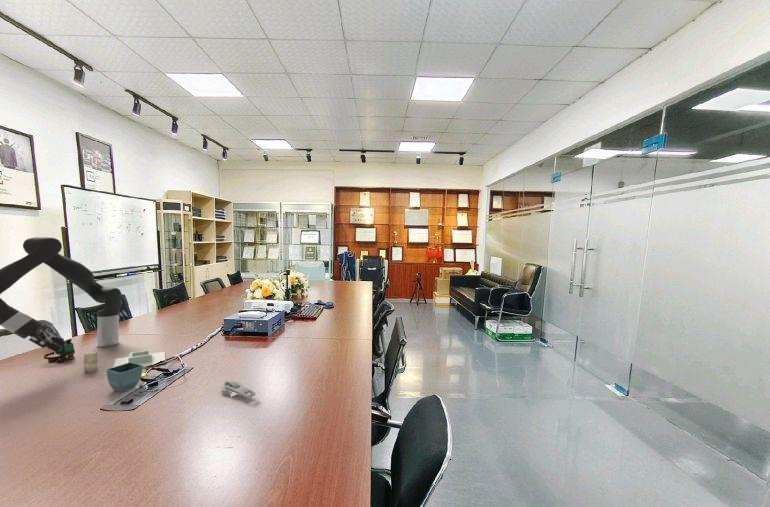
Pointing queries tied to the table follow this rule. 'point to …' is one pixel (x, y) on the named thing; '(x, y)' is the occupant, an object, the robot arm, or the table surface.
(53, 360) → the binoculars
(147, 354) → the holder
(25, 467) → the table surface
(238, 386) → the zipper pull
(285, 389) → the table surface
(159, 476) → the table surface
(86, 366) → the beige upright block
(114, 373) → the flower pot
